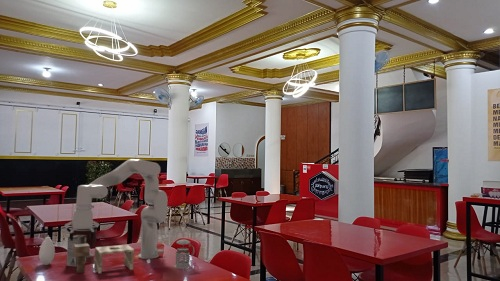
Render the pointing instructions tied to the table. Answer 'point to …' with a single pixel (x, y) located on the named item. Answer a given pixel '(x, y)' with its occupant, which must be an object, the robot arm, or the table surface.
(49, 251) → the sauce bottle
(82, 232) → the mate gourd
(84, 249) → the hanger peg
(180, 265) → the french press
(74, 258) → the coffee box
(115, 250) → the stand
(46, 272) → the table surface
